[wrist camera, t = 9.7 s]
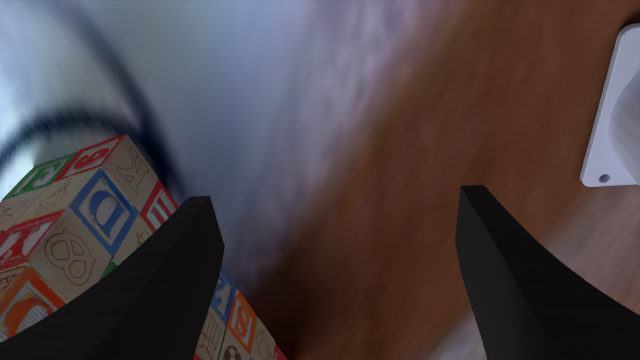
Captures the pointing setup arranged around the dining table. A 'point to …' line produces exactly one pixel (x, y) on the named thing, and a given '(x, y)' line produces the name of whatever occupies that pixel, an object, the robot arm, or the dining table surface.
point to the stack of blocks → (101, 244)
